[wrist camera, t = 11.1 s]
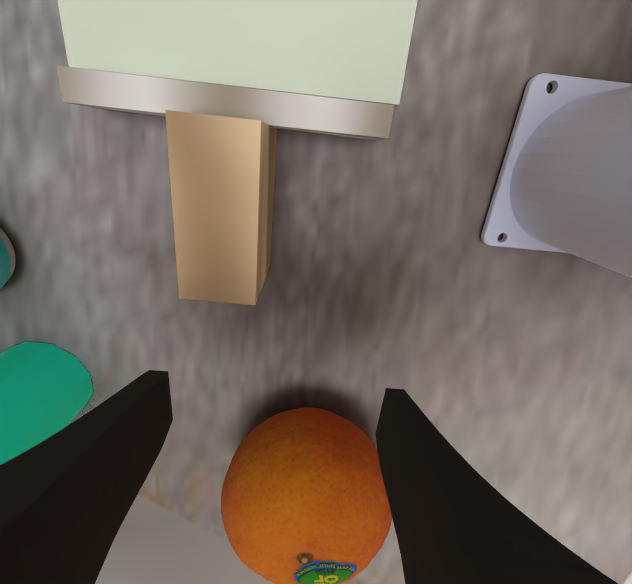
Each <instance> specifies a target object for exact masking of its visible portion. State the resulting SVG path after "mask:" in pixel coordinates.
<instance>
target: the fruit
mask: <svg viewBox="0 0 632 584" xmlns="http://www.w3.org/2000/svg"><path fill="white" fill-rule="evenodd" d="M221 513H222V518H223V523H224V527H225V531H226V533H227V536H228V539H229V541H230V544H231V546H232V548H233V550H234V551H235V553H236V554H237V556H238V557H239V558H240V560H241V561H242V562H243V563H244V564H245V565H246V566H247V567H248V568H250V569H251V570H253V571H254V572H255V573H257V574H258V575H260V576H262V577H263V578H265V579H266V580H269V581H271V582H273V583H275V584H342V583H345V582H347V581H348V580H350V579H352V578H353V577H355V576H356V575H357V574H358V573H360V572H361V571H362V570H363V569H364V568H366V567H367V566H368V564H369V563H370V561H371V560H372V559H373V558H374V557H375V555H376V554H377V553H378V551H379V550H380V549H381V547H382V545H383V543H384V541H385V539H386V537H387V535H388V532H389V530H390V525H391V521H392V514H391V510H390V506H389V502H388V498H387V494H386V490H385V486H384V482H383V477H382V473H381V469H380V465H379V457H378V451H377V449H376V447H375V445H374V444H373V442H372V441H371V440H370V438H369V437H368V436H367V434H366V433H365V432H363V431H362V430H361V429H360V428H359V427H358V426H356V425H355V424H353V423H352V422H350V421H349V420H347V419H345V418H343V417H341V416H339V415H336V414H334V413H332V412H329V411H327V410H324V409H320V408H315V407H303V408H297V409H292V410H288V411H284V412H281V413H278V414H276V415H274V416H272V417H270V418H268V419H267V420H265V421H264V422H262V423H261V424H260V425H258V426H257V427H255V428H254V429H253V430H252V431H251V432H250V433H249V434H248V435H247V436H246V438H245V439H244V440H243V441H242V442H241V444H240V445H239V447H238V449H237V451H236V452H235V454H234V456H233V459H232V461H231V463H230V466H229V469H228V471H227V474H226V477H225V480H224V484H223V488H222V495H221Z"/></svg>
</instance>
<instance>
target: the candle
mask: <svg viewBox="0 0 632 584" xmlns="http://www.w3.org/2000/svg"><path fill="white" fill-rule="evenodd" d="M92 394H93V387H92V381H91V375H90V373H89V372H88V371H87V370H86V369H85V367H84V366H83V365H82V364H81V363H80V361H79V360H78V359H77V358H76V357H75V356H74V355H72V354H70V353H68V352H66V351H64V350H62V349H60V348H58V347H57V346H55V345H53V344H47V343H38V342H29V341H26V342H23V343H21V344H18V345H16V346H13V347H11V348H8V349H6V350H5V351H3V352H2V353H0V465H2V464H3V463H5V462H7V461H9V460H11V459H13V458H14V457H16V456H18V455H20V454H22V453H23V452H25V451H27V450H29V449H31V448H32V447H34V446H36V445H37V444H39V443H41V442H43V441H44V440H46V439H47V438H49V437H51V436H52V435H54V434H56V433H57V432H59V431H60V430H62V429H63V428H65V427H66V426H68V425H69V424H70V422H71V421H72V420H73V419H74V418H75V417H76V416H77V415H78V413H79V412H80V411H81V410H82V409H83V408H84V407H85V405H86V404H87V402H88V400H89V399H90V397H91V396H92Z"/></svg>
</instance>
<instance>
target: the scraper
mask: <svg viewBox="0 0 632 584" xmlns="http://www.w3.org/2000/svg"><path fill="white" fill-rule="evenodd" d="M56 68H57V74H58V79H59V85H60V90H61V96H62V102H66V103H71V104H77V105H82V106H87V107H93V108H98V109H104V110H109V111H118V112H127V113H136V114H145V115H154V116H163V117H166V126H167V140H168V154H169V167H170V181H171V195H172V208H173V222H174V236H175V250H176V263H177V277H178V291H179V299H189V300H200V301H212V302H224V303H235V304H247V305H256V303H257V300H258V297H259V295H260V292H261V289H262V286H263V284H264V281H265V278H266V276H267V273H268V270H269V267H270V265H271V249H272V228H273V207H274V186H275V165H276V144H277V129H280V130H289V131H298V132H307V133H316V134H325V135H334V136H343V137H352V138H361V139H370V140H380V139H388V138H389V134H390V129H391V123H392V117H393V111H394V105H389V104H381V103H372V102H364V101H355V100H346V99H338V98H329V97H321V96H312V95H304V94H295V93H286V92H278V91H269V90H261V89H252V88H244V87H235V86H226V85H218V84H209V83H201V82H192V81H184V80H175V79H166V78H158V77H149V76H141V75H132V74H123V73H115V72H106V71H98V70H89V69H81V68H72V67H63V66H56Z"/></svg>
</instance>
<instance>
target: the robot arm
mask: <svg viewBox="0 0 632 584" xmlns="http://www.w3.org/2000/svg"><path fill="white" fill-rule="evenodd" d="M549 82H550V83H551V84H552V90H551V92H550V93H547V91H546V86H547V85H548V83H549ZM501 233H503V238H502V239H501V240H497V238H498V236H499V235H500V234H501ZM481 240H482V241H483V242H484V243H485V244H487V245H490V246H499V247H510V248H520V249H530V250H541V251H551V252H561V253H570V254H573V255H575V256H578V257H580V258H582V259H585V260H587V261H590V262H592V263H595V264H597V265H599V266H602V267H604V268H607V269H609V270H612V271H614V272H617V273H619V274H621V275H624V276H626V277H629V278H631V279H632V84H631V83H622V82H614V81H606V80H598V79H589V78H581V77H573V76H564V75H556V74H548V73H542V74H538V75H536V76H534V77H532V78H531V79H530V80H529V81H528V84H527V86H526V89H525V92H524V95H523V99H522V102H521V105H520V109H519V112H518V115H517V118H516V122H515V125H514V128H513V132H512V135H511V138H510V141H509V145H508V148H507V151H506V155H505V158H504V161H503V165H502V168H501V171H500V174H499V178H498V181H497V184H496V188H495V191H494V194H493V198H492V201H491V204H490V207H489V211H488V214H487V217H486V221H485V224H484V227H483V231H482V234H481ZM172 420H173V417H172V406H171V396H170V386H169V376H168V372H167V371H154V370H149V371H147V372H146V373H144V374H143V375H141V376H140V377H138V378H137V379H135V380H134V381H133V382H131V383H130V384H128V385H127V386H126V387H124V388H123V389H121V390H120V391H119V392H117V393H116V394H114V395H113V396H111V397H110V398H109V399H107V400H106V401H104V402H103V403H101V404H100V405H98V406H97V407H96V408H94V409H93V410H91V411H90V412H88V413H87V414H85V415H84V416H82V417H81V418H79V419H77V420H76V421H74V422H73V423H71V424H70V425H68V426H66V427H65V428H63V429H62V430H60V431H59V432H57V433H56V434H54V435H52V436H51V437H49V438H47V439H46V440H44V441H43V442H41V443H39V444H37V445H36V446H34V447H32V448H31V449H29V450H27V451H25V452H23V453H22V454H20V455H18V456H16V457H14V458H13V459H11V460H9V461H7V462H5V463H3V464H2V465H0V584H95V582H96V579H97V577H98V575H99V572H100V570H101V568H102V565H103V563H104V561H105V559H106V556H107V554H108V551H109V549H110V547H111V545H112V542H113V540H114V538H115V536H116V534H117V532H118V530H119V528H120V526H121V524H122V522H123V520H124V518H125V516H126V514H127V513H128V511H129V509H130V507H131V505H132V503H133V501H134V500H135V498H136V496H137V494H138V492H139V490H140V488H141V487H142V485H143V483H144V481H145V479H146V477H147V475H148V474H149V472H150V470H151V468H152V466H153V464H154V462H155V460H156V458H157V457H158V455H159V453H160V451H161V449H162V446H163V444H164V441H165V439H166V436H167V434H168V431H169V428H170V426H171V423H172ZM376 441H377V450H378V457H379V465H380V469H381V473H382V477H383V482H384V486H385V490H386V494H387V498H388V502H389V506H390V510H391V514H392V518H393V522H394V526H395V530H396V534H397V538H398V543H399V548H400V553H401V558H402V564H403V571H404V577H405V583H406V584H618V583H616V582H615V581H613V580H612V579H610V578H609V577H607V576H606V575H604V574H603V573H601V572H600V571H598V570H597V569H595V568H594V567H593V566H591V565H590V564H589V563H587V562H586V561H584V560H583V559H582V558H580V557H579V556H578V555H576V554H575V553H573V552H572V551H571V550H569V549H568V548H566V547H565V546H564V545H562V544H561V543H560V542H559V541H557V540H556V539H555V538H553V537H552V536H551V535H549V534H548V533H547V532H545V531H544V530H543V529H542V528H540V527H539V526H538V525H537V524H536V523H534V522H533V521H532V520H531V519H529V518H528V517H527V516H526V515H524V514H523V513H522V512H521V511H520V510H518V509H517V508H516V507H515V506H514V505H513V504H511V503H510V502H509V501H508V500H507V499H506V498H504V497H503V496H502V495H501V494H500V493H499V492H498V491H497V490H496V489H495V488H493V487H492V486H491V485H490V484H489V483H488V482H487V481H486V480H485V479H484V478H483V477H482V476H481V475H480V474H478V473H477V472H476V471H475V470H474V469H473V468H472V467H471V466H470V465H469V464H468V462H467V461H466V460H465V459H464V458H463V457H462V456H461V455H460V454H459V453H458V452H457V451H456V450H455V449H454V448H453V447H452V446H451V445H450V444H449V442H448V441H447V440H446V439H445V438H444V437H443V436H442V435H441V433H440V432H439V431H438V430H437V429H436V428H435V426H434V425H433V424H432V423H431V422H430V421H429V419H428V418H427V417H426V416H425V415H424V413H423V412H422V411H421V410H420V408H419V407H418V406H417V405H416V404H415V402H414V401H413V400H412V399H411V397H410V396H409V395H408V394H407V393H406V391H405V390H403V389H390V388H386V390H385V395H384V399H383V404H382V408H381V412H380V417H379V421H378V425H377V430H376Z"/></svg>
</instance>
